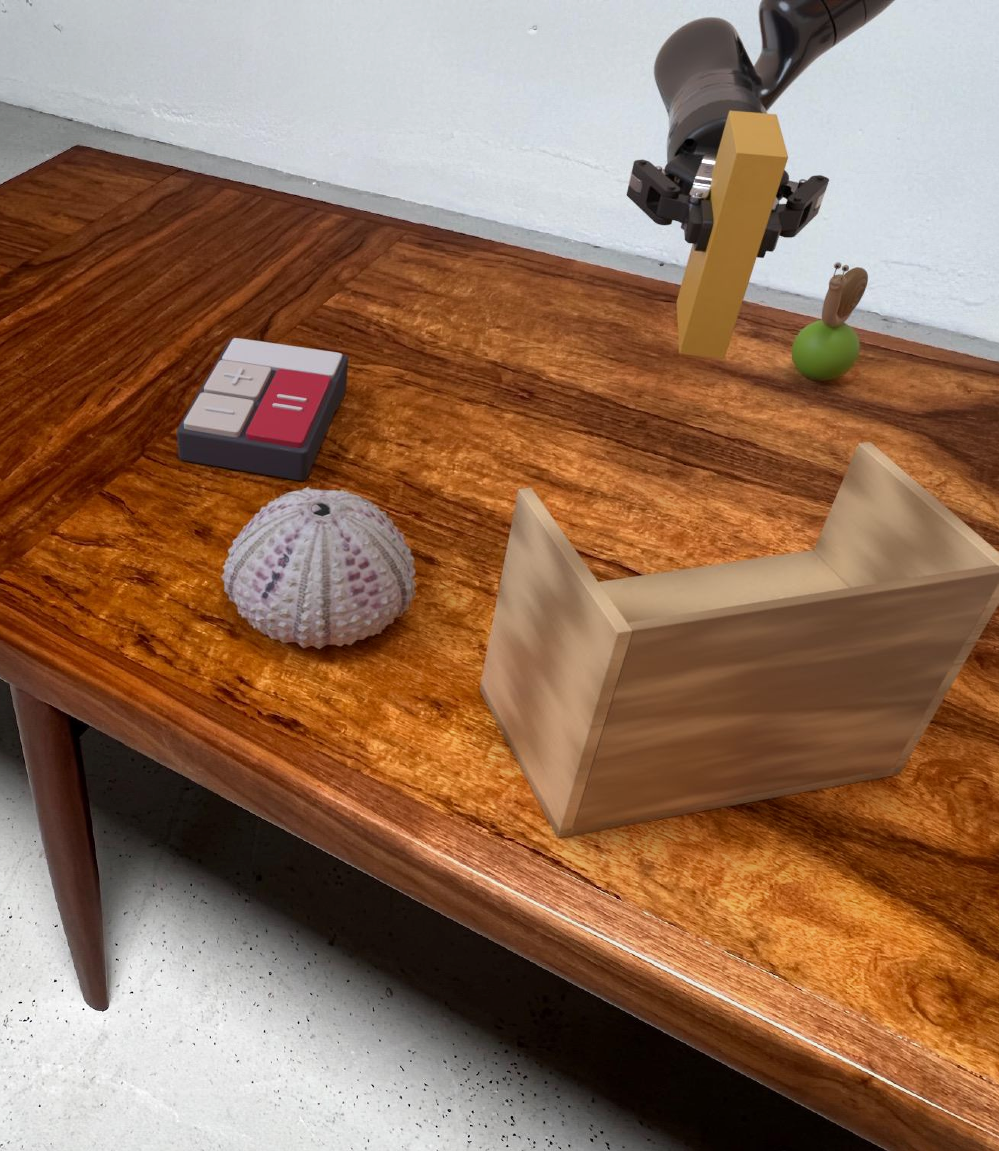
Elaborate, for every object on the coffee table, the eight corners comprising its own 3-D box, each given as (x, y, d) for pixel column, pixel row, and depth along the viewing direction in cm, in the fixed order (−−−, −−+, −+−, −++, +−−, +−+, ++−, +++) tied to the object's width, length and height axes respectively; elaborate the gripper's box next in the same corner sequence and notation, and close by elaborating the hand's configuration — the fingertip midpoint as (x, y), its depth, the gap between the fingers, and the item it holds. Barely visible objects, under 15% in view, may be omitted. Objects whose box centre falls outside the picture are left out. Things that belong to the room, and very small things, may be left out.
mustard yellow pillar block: (678, 354, 78) (736, 152, 69) (676, 301, 84) (729, 109, 75) (724, 359, 78) (788, 156, 69) (718, 306, 84) (776, 113, 75)
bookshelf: (478, 689, 73) (517, 488, 63) (785, 639, 76) (870, 441, 66) (557, 838, 64) (617, 632, 54) (900, 774, 67) (1019, 569, 57)
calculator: (174, 423, 91) (230, 329, 101) (177, 466, 94) (231, 370, 104) (306, 445, 88) (349, 346, 98) (305, 488, 91) (347, 388, 101)
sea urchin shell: (435, 654, 75) (449, 561, 70) (236, 675, 74) (235, 582, 69) (386, 533, 86) (396, 444, 80) (210, 550, 84) (208, 461, 79)
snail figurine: (766, 379, 103) (809, 254, 95) (801, 355, 106) (845, 233, 98) (824, 402, 99) (873, 275, 92) (858, 377, 103) (908, 252, 95)
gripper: (801, 206, 87) (828, 306, 75) (614, 188, 90) (610, 282, 78) (834, 106, 82) (869, 195, 70) (635, 90, 85) (634, 174, 73)
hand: (732, 240), depth 74 cm, fingers closed on mustard yellow pillar block, 3 cm apart
